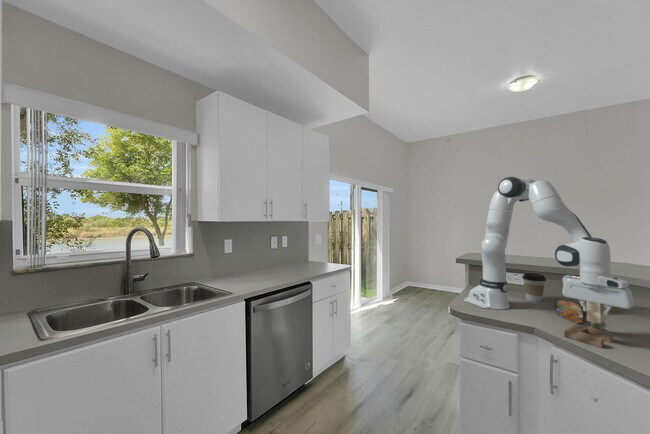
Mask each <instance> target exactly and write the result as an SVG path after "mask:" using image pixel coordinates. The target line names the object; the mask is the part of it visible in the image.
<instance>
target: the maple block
mask: <svg viewBox="0 0 650 434" xmlns="http://www.w3.org/2000/svg"><path fill="white" fill-rule="evenodd" d="M603 310H604V304H600V303H597V302H592V301H587V321H586V322H589V323H591V322H594V323H598V324H602V323H603V322H605V323H606V319H605V320H604V316H603V315H602V313H601V311H603Z"/></svg>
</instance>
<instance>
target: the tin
mask: <svg viewBox="0 0 650 434" xmlns="http://www.w3.org/2000/svg"><path fill="white" fill-rule="evenodd" d="M554 309H555V310H554V311H555V312H556V314H557V315H558V316H559V317H560V318H563V319H564V320H568V321H569V322H572V323H575V324H584V323H586V322H588V321H587V312H585V311H583V306H582V305H581V304H578V303H575V302H572V301H569V300H563V299H559V300H557V301H555V304H554Z"/></svg>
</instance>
